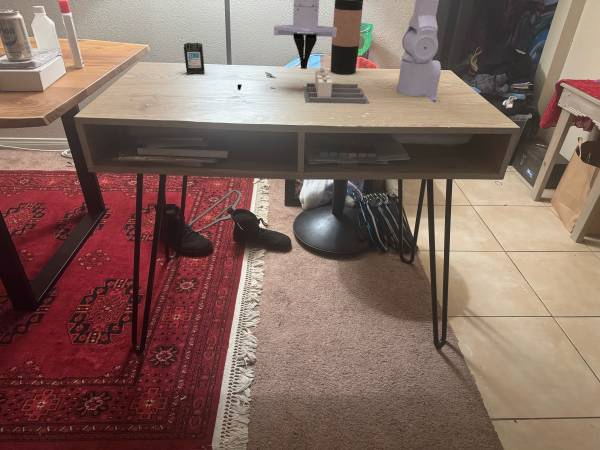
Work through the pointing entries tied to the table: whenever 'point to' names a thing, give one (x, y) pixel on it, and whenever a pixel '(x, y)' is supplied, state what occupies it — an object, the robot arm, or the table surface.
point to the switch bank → (336, 94)
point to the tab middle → (321, 78)
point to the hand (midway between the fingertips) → (303, 67)
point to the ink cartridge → (194, 58)
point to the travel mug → (346, 36)
